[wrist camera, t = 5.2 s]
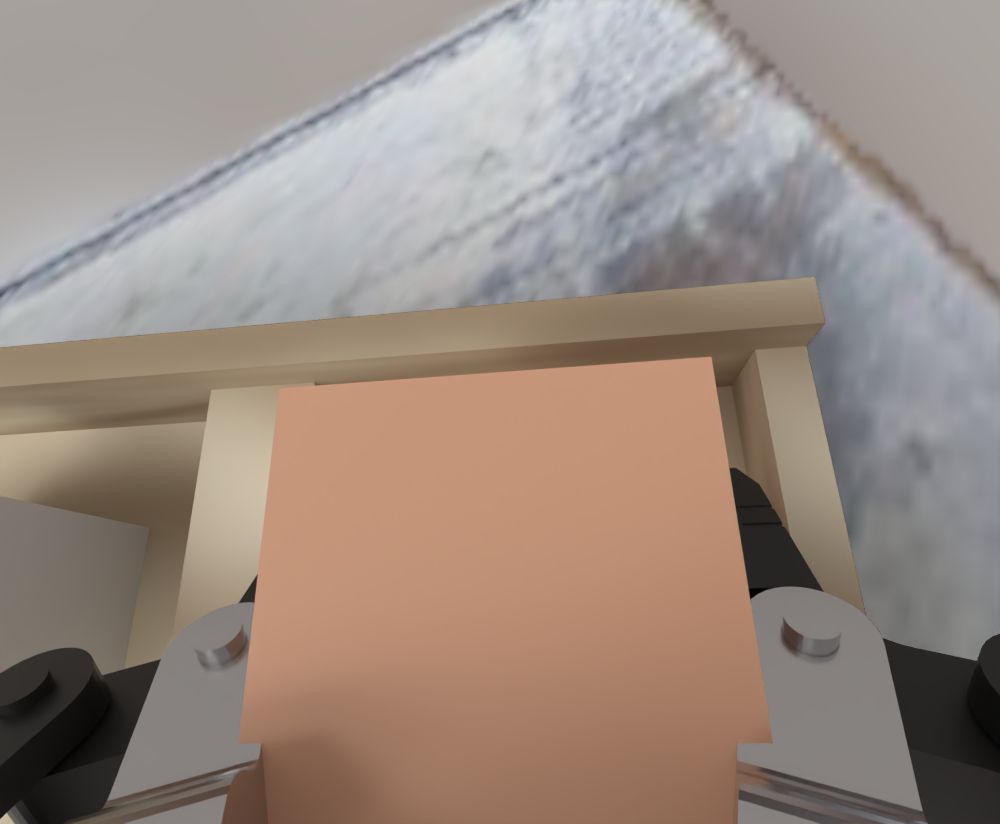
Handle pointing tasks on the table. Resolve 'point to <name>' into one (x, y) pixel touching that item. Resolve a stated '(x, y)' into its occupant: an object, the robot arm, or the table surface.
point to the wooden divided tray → (379, 357)
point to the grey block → (67, 583)
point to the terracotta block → (503, 602)
